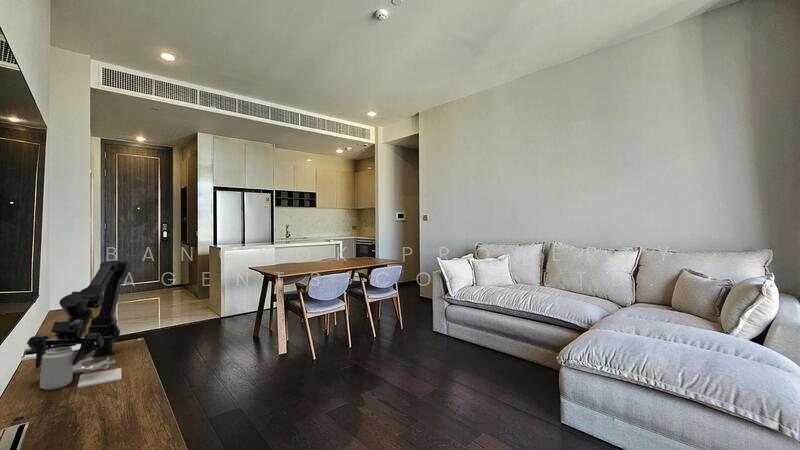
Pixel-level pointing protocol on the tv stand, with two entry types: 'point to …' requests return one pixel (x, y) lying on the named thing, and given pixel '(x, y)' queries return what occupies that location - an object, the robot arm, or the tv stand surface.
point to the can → (56, 368)
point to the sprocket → (92, 364)
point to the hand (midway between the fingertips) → (55, 366)
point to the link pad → (99, 377)
